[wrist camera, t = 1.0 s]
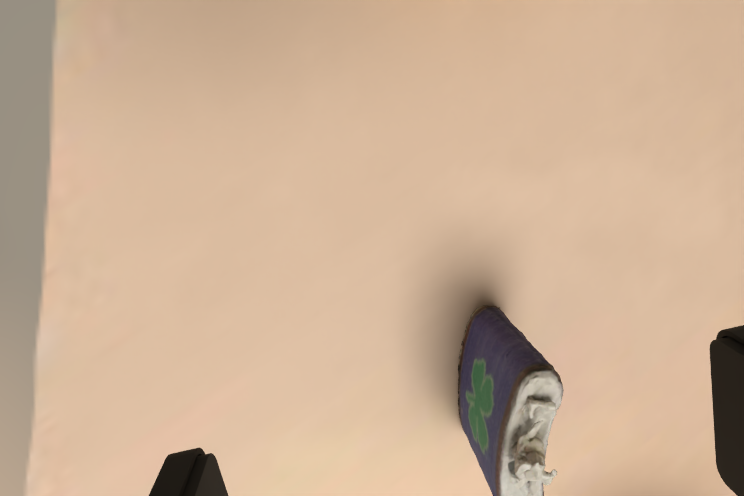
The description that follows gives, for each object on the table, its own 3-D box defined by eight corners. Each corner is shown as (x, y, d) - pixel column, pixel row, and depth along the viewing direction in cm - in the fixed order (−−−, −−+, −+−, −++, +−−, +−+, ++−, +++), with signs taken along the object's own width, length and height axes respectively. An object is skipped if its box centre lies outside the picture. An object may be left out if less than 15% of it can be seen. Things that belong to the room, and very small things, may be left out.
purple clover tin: (493, 433, 38) (555, 556, 28) (450, 433, 38) (497, 556, 28) (510, 303, 36) (584, 384, 26) (464, 302, 36) (521, 383, 26)
